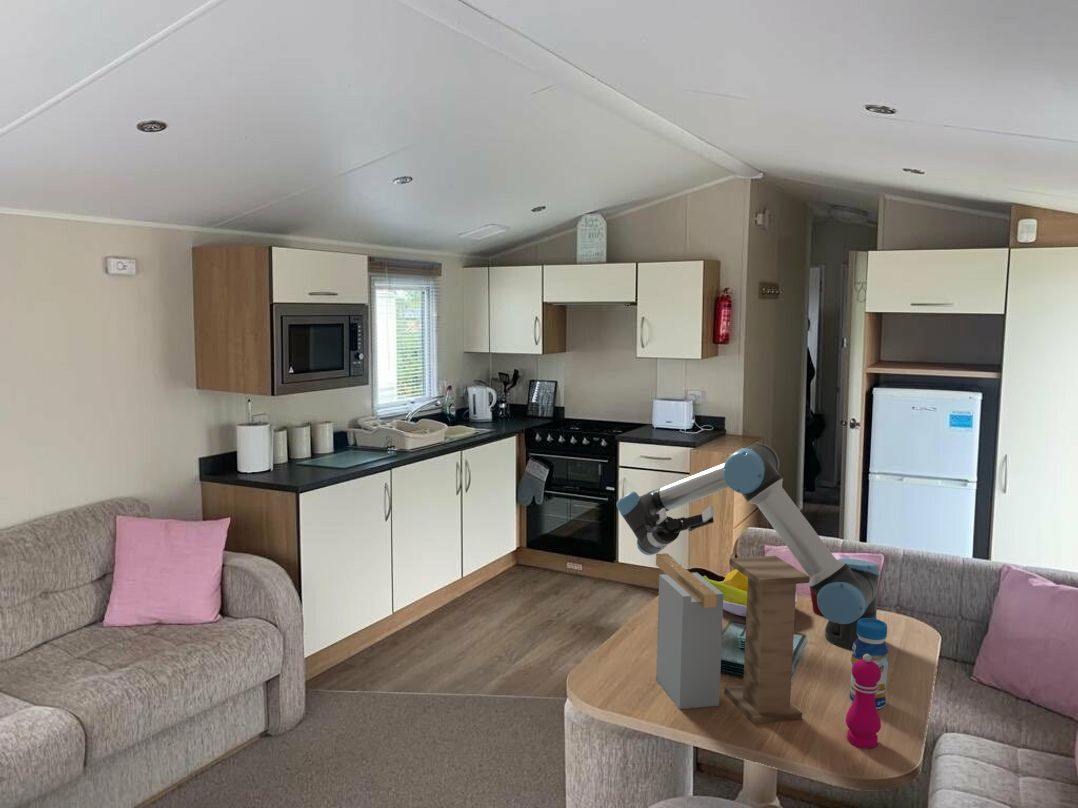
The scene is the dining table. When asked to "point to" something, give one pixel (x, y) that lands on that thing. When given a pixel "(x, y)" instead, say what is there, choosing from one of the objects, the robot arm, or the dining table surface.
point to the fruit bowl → (734, 592)
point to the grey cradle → (688, 645)
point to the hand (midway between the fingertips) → (688, 511)
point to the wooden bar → (686, 580)
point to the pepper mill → (864, 704)
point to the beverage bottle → (872, 654)
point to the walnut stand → (768, 639)
